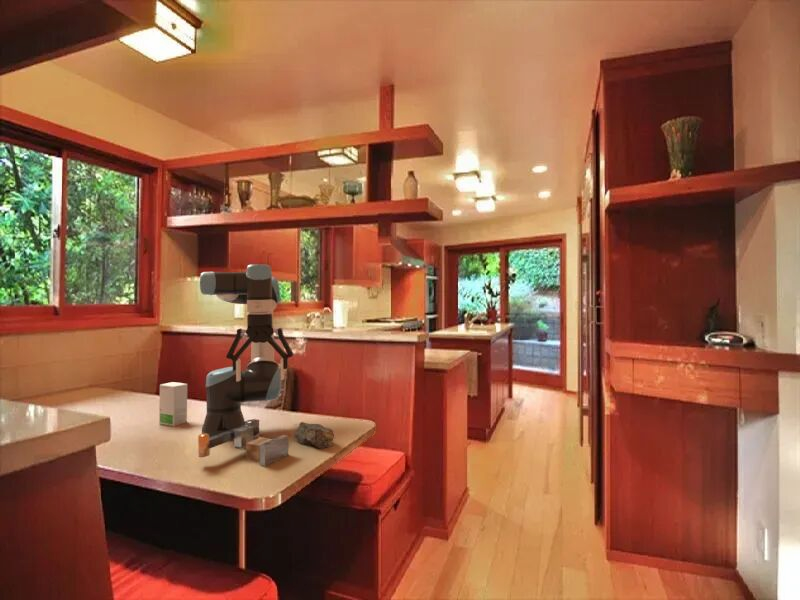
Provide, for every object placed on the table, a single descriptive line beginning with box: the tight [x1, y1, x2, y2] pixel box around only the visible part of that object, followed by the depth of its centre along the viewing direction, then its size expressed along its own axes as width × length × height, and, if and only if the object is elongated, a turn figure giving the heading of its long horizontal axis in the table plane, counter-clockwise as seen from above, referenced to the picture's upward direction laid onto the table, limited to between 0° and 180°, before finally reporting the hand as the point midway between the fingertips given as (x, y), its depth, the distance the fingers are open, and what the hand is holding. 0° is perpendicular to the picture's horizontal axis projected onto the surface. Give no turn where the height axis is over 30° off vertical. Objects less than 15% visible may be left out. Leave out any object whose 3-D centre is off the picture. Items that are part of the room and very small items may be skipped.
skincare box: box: [158, 381, 188, 427], centre depth 171 cm, size 8×7×16 cm
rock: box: [293, 421, 335, 449], centre depth 145 cm, size 17×7×10 cm
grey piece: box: [234, 433, 289, 467], centre depth 138 cm, size 21×16×6 cm
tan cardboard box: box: [245, 436, 273, 463], centre depth 133 cm, size 5×6×5 cm
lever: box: [197, 418, 260, 458], centre depth 135 cm, size 7×23×6 cm, turn 154°
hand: (260, 380), depth 137 cm, fingers open, 13 cm apart
